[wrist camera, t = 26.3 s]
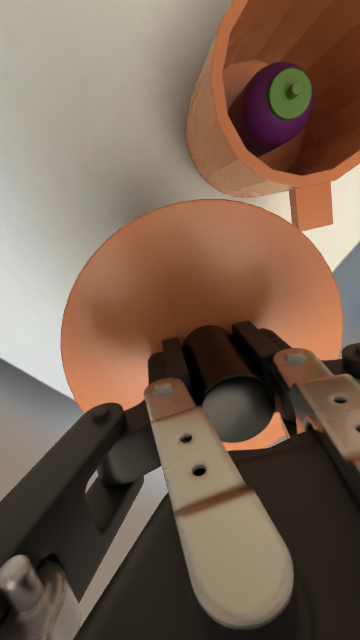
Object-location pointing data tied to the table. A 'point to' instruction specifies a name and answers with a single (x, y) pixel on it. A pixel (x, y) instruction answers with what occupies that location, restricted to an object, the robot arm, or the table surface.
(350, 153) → the pot
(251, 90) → the aubergine
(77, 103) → the table surface
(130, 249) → the lid
